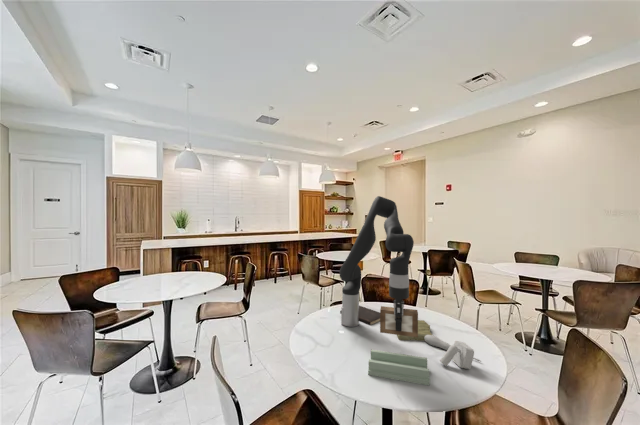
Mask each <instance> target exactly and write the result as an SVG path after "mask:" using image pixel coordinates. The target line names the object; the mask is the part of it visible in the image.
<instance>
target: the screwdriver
mask: <svg viewBox="0 0 640 425" xmlns="http://www.w3.org/2000/svg"><path fill="white" fill-rule="evenodd" d="M424 339H425V341H424V342H426V343H427V344H428V345H430V346H432V347H437V348H440V349H443V350H445V351H447V350H448V349H449V347H450V346H451V345H452V344H450V343H448V342H446V341H444V340H443V339H440V338H439V337H437V336H436V335H433V334H432V335H426V336H425V337H424ZM473 360H475V361H476V362H477V361H478V362H480V363H481V362H482V360H480V359H478V358H476V357H475V356H473Z"/></svg>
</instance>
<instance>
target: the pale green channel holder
mask: <svg viewBox="0 0 640 425" xmlns="http://www.w3.org/2000/svg"><path fill="white" fill-rule="evenodd" d="M367 371H368V372H367V375H369V376H373V377H378V378H379V377H380V378H383V379H384V378H385V379H391V380H395V381H402V382H406V383H407V382H409V383H412V384H413V383H414V384H419V385H425V386H430V382H431V381H430V368H428V358H427V357H424V356H418V355H417V356H416V355H412V354H411V355H409V354H404V353H397V352H391V351H384V350H378V349H377V350H376V349H371V350H370V359H368V370H367Z"/></svg>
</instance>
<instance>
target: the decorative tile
mask: <svg viewBox="0 0 640 425" xmlns="http://www.w3.org/2000/svg"><path fill="white" fill-rule="evenodd" d="M426 335H433V333H431V325H430V324H429V323H427V321H426V320H421V319H420V320H419V319H418V337H411V336H403V335H396V338H398V340H399V341H402V340H403V341H418V342H419V341H420V342H421V341H422V342H423V341H424V342H426V341H425V339H424V337H425V336H426Z"/></svg>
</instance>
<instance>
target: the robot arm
mask: <svg viewBox="0 0 640 425" xmlns="http://www.w3.org/2000/svg"><path fill="white" fill-rule="evenodd" d="M397 207H398V206H397V204H396V202H395V201H394V200H391V199H388V198H386V197H383V196H380V195H378V196H376V197H375V198H374V200H373V201H372V203H371V206H370V208H369V211H368V214H367V215H366V216H367V217H366V218H365V221H364V223H363V225H362V227H361V230H360V231H359V233H358V235H357V236H356V239H355V240H354V241H355V242H354V244H353V246H352V247H351V249H350V251H349V253H348V256H347V257H346V258H345V260H344V262H343V264H342V265H341V267H340V269H339V278H340V280H342V281H343V282H345V283H346V284H345V285H344V286H343V287H342V290H341V291H342V292H341V294H342V296H341V297H342V302H341V303H342V304H341V305H342V306H341V310H340V311H341V316H340V317H341V318H340V319H341V320H340V321H341V322H340V324H341V326H345V327H347V328H349V327H350V328H355V327H358V326H359V325H360V324H359V323H360V321H359V306H360V289H361V286H362V271H361V267H360V265H359V263H360V262H361V261H362V260H363V259H364V258H365V257H366V256H367V255H369V253H370V252H371V250H372V249H373V246H374V245H375V242H376V240H377V236H376V229H375V219H376V217H377V216H379V217H382V218H385V221H384V223H383V228H384V232H385V234H386V238H385V248H386V249H387V251H389V252H391V253H401V255H399V256H396V257H392V258H391V259H390V260H389V279H388V295H389V297H390V298H391V299H393V307H394V314H395V321H396V331H401V330H402V315H403V309H405V301H404V300H407V299H409V297H410V276H409V264H410V263H409V262H410V258H411V254H412V252H413V248H414V244H415V243H414V239H413V237H412V235H411V234H409V233H404V229H403V227H402V225H401V223H400V220H399V214H398V213H399V212H398V208H397ZM397 317H401V318H397Z"/></svg>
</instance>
